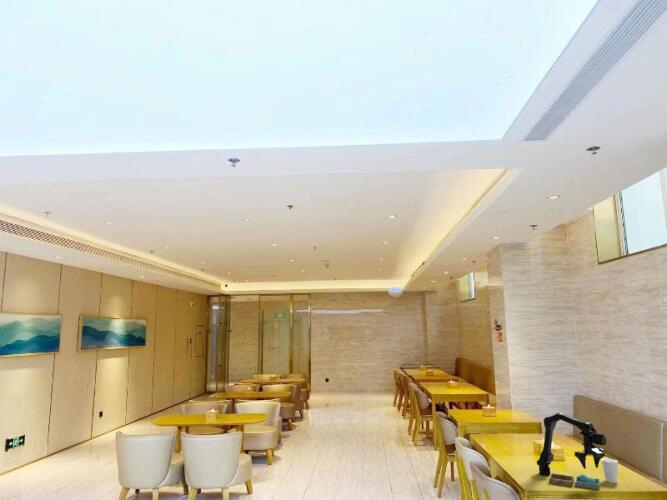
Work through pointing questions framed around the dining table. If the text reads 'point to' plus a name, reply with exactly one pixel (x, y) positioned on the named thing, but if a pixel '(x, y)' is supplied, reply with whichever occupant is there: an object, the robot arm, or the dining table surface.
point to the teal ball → (591, 481)
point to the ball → (583, 478)
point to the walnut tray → (562, 480)
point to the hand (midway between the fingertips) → (590, 468)
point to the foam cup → (610, 469)
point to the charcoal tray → (588, 484)
